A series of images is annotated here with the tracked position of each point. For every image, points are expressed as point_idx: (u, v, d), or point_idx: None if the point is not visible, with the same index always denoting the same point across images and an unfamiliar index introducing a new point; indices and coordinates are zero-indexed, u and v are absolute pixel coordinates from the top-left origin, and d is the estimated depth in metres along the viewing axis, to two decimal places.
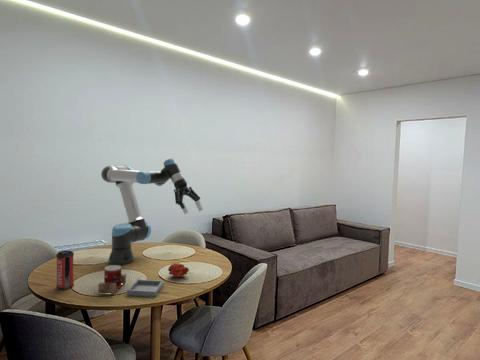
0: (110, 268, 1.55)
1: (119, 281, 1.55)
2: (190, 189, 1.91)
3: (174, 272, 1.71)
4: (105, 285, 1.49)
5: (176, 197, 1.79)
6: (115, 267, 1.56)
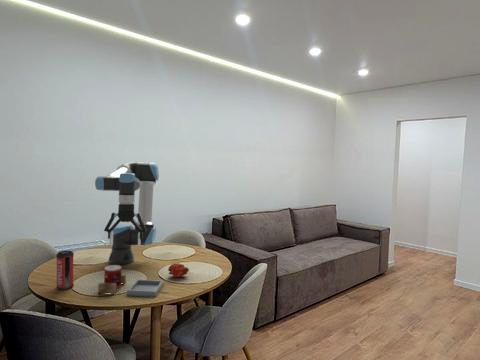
0: (110, 268, 1.55)
1: (119, 281, 1.55)
2: (136, 217, 1.56)
3: (174, 272, 1.71)
4: (105, 285, 1.49)
5: None
6: (115, 267, 1.56)
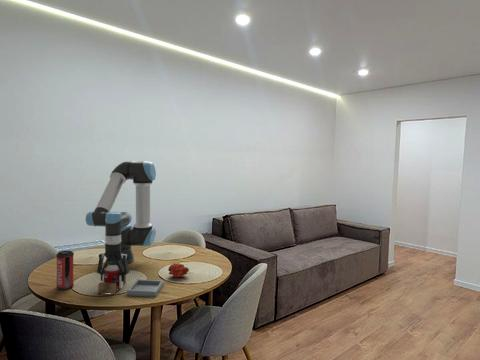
0: (110, 268, 1.55)
1: (119, 281, 1.55)
2: (122, 258, 1.54)
3: (174, 272, 1.71)
4: (105, 285, 1.49)
5: None
6: (115, 267, 1.56)
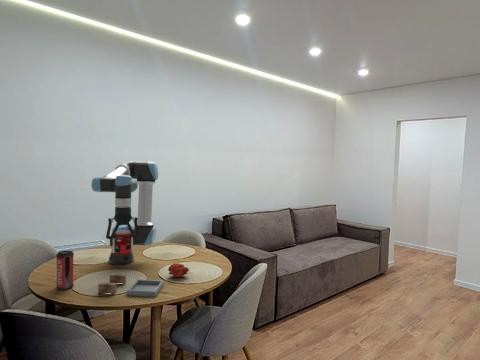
0: (120, 232, 1.53)
1: (130, 244, 1.55)
2: (133, 220, 1.55)
3: (174, 272, 1.71)
4: (105, 285, 1.49)
5: (107, 231, 1.51)
6: (124, 231, 1.55)
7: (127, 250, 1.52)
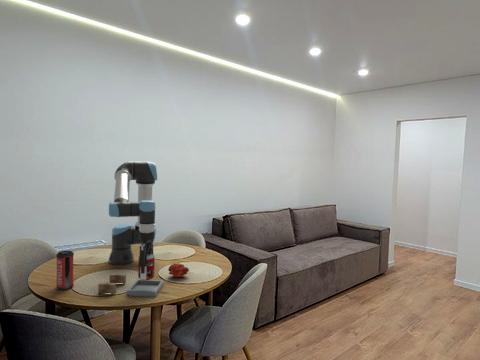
0: None
1: None
2: (151, 243, 1.59)
3: (174, 272, 1.71)
4: (105, 285, 1.49)
5: (141, 259, 1.47)
6: None
7: None
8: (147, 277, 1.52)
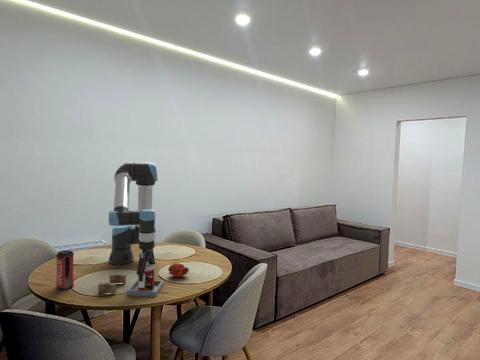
0: (146, 269, 1.54)
1: None
2: (151, 250, 1.60)
3: (174, 272, 1.71)
4: (105, 285, 1.49)
5: (140, 266, 1.46)
6: None
7: None
8: (147, 289, 1.52)
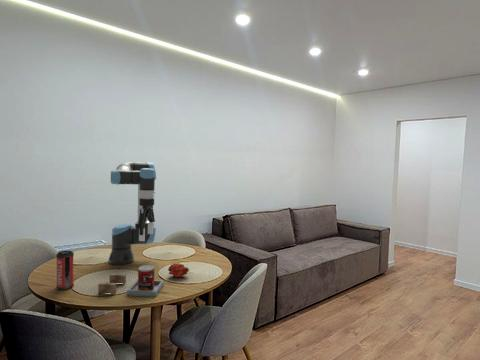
0: (146, 269, 1.54)
1: None
2: (151, 208, 1.68)
3: (174, 272, 1.71)
4: (105, 285, 1.49)
5: (140, 221, 1.54)
6: (145, 267, 1.56)
7: None
8: (147, 289, 1.52)
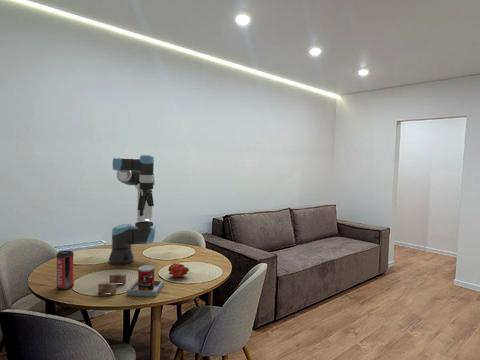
0: (146, 269, 1.54)
1: None
2: (150, 193, 1.80)
3: (174, 272, 1.71)
4: (105, 285, 1.49)
5: (140, 202, 1.67)
6: (144, 267, 1.56)
7: None
8: (147, 289, 1.52)
